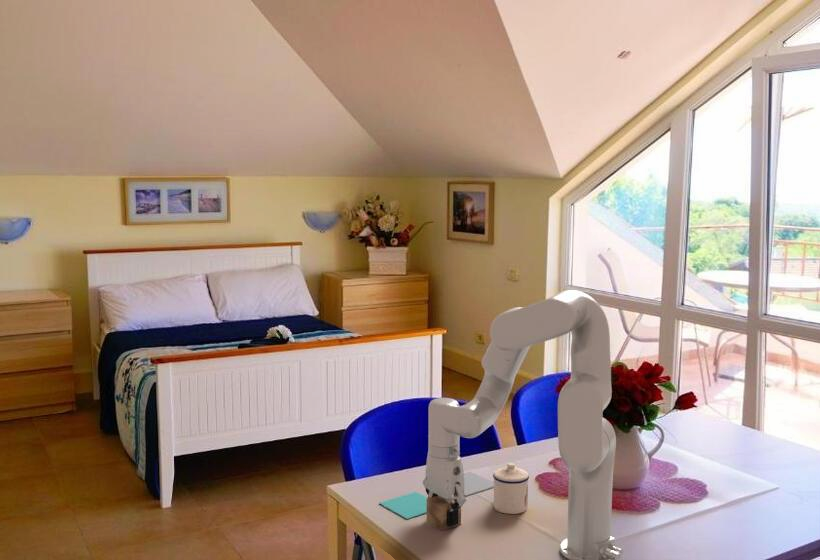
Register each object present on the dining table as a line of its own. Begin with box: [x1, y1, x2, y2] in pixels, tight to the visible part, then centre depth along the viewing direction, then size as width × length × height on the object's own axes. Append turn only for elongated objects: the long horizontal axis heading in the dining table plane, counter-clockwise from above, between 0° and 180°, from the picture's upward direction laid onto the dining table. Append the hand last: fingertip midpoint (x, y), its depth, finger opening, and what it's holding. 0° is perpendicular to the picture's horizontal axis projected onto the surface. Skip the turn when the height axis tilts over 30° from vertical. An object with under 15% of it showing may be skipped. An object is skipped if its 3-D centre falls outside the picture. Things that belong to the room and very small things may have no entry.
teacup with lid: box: [492, 462, 530, 515], centre depth 214 cm, size 12×9×12 cm
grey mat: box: [464, 471, 494, 497], centre depth 229 cm, size 12×12×1 cm
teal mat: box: [378, 491, 428, 520], centre depth 215 cm, size 12×12×1 cm
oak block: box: [426, 495, 462, 532], centre depth 204 cm, size 6×6×6 cm
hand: (443, 519), depth 204 cm, fingers closed on oak block, 6 cm apart
